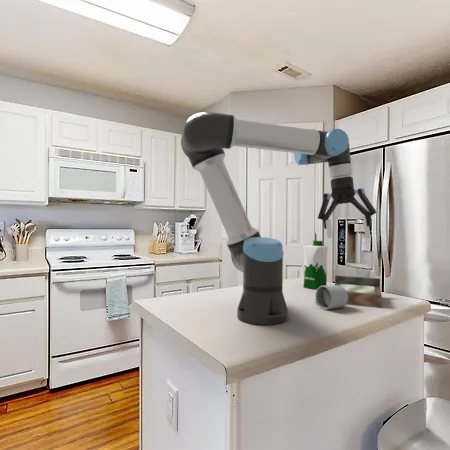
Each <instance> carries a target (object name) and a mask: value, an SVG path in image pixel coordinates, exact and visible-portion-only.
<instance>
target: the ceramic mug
mask: <svg viewBox="0 0 450 450" xmlns="http://www.w3.org/2000/svg"><path fill="white" fill-rule="evenodd" d="M315 291H316V292H315V298H314V300H315V304H317V305H318V307H319V308H320V309H322V310H325V311H326V310H327V311H328V310H333V309H334V310H335V309H340V308H343V307H345V306H346V305H348V304H347V302H348V293H347V291H346V290H345V289H344V288H343V287H341V286H334V285H326V286H320V287H319V288H318V289H317V290H315Z"/></svg>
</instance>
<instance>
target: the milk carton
mask: <svg viewBox="0 0 450 450" xmlns="http://www.w3.org/2000/svg"><path fill="white" fill-rule="evenodd" d="M328 248H329V246H328V245H324V242H323V240H312V244H307V245H303V246H302V250H303V254H304V257H303V258H304V262H303V263H304V267H303V268H304V269H303V271H304V272H303V274H304V275H303V288H306V289H309V290H310V289H311V290H315V291H317V289H318V288H319V287H320V286H327V279H328V278H327V274H328V273H327V267H328V266H327V264H328V263H327V262H328V261H327V259H328V257H327V256H328Z"/></svg>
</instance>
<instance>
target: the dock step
mask: <svg viewBox="0 0 450 450" xmlns="http://www.w3.org/2000/svg"><path fill="white" fill-rule="evenodd" d="M333 286H341V287H343V288H344V289H345V290H346V291H347V293H348V302H347V304H346V305H353V306H354V305H356V306H363V307H365V306H366V307H375V308H382V302H383V301H382V299H383V298H382V297H383V296H382V289H381V278H379V277H378V278H377V277H375V278H374V277H364V276H363V277H362V276H347V275H334V285H333Z"/></svg>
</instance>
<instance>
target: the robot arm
mask: <svg viewBox="0 0 450 450" xmlns="http://www.w3.org/2000/svg"><path fill="white" fill-rule="evenodd" d="M349 141H350V139H349V136H348V134H347V132H346V131H345V130H343V129H341V128H333V129H329V130H328V131H327V130H326V131H325V130H324V131H323V130H317V129H308V128H301V127H295V126H289V125H288V126H286V125H280V124H273V123H265V122H260V121H259V122H258V121H257V122H256V121H251V120H246V119H245V120H243V119H237V117H236V116H235V115H233V114H226V113H222V112H221V113H220V112H211V111H202V112H197V113H194V114H193V115H190V117H189V118H187V120H186V122H185V123H184V125H183V130H182V134H181V138H180V146H181V148H182V151H183V153H184V154H185V156H186V157H187V158H188V160H189V162H190V165H191V167H192V169H193V170H196V171H197V172H199V173H200V176H201V178H202V181H203V182H204V185H205V187H206V190H207V192H208V194H209V196H210V199H211V201H212V203H213V205H214V207H215V210H216V212H217V214H218V216H219V218H220V221H221V224H222V226H223V228H224V230H225V233H226V235H227V240H226V243H225V244H226V246H227V248H228V250H229V252H230V259H231V262H232V264H233V265H234V267H235V268H236V269H237V270H239V272H241V273H243V274H242V275H243V276H242V279H243V282H242V285H243V286H242V288H243V289H242V292H241V293H242V294H241V297H240V300H239V302H238V306H237V308H236V310H237V311H236V312H237V313H236V316H237V319H238V320H240V321H242V322H244V323H249V324H253V325H260V326H261V325H263V326H265V325H267V326H268V325H272V326H273V325H280V324H283V323H285V322H287V321H288V320H289V309H288V306H287V303H286V300H285V295H284V292H283V284H284V283H283V277H284V274H283V271H284V268H283V267H284V264H283V262H284V249H283V247H284V246H283V244H282V242H281V241H280V240H279V239H277V238H272V237H271V238H270V237H265V236H264V237H263V236H261V234H260V232H259V230H258V229H257V228H255V227H254V226H252V224H251V222H250V220H249V217H248V216H247V212H246V210H245V208H244V206H243V204H242V202H241V199H240V197H239V194H238V191H237V189H236V187H235V185H234V182H233V180H232V179H231V176H230V174H229V171H228V168H227V167H226V165H225V162H224V160H225V157H226V151H224V149H226V150H228V149H229V150H231V149H232V148H233V147H238V148H239V147H240V148H246V149H247V148H249V149H256V150H257V149H258V150H266V151H267V150H268V151H274V152H275V151H276V152H283V153H290V154H293V158H294V161H295V163H296V164H297V165H299V166H308V165H313V164H314V165H315V164H320V163H321V164H322V163H327V164H328V171H329V179H330V189H331V193H329V192H328V193H327V192H326V193H323V200H322V204H321V206H320V210H319V213H318V216H317V219H318V220H322V221H323V229H324V230H325V229H326V235H327V236H326V237H327V239H330V238H333V229H332V228H333V227H332V219H330V217H331V216H332V214H333V212H334V211H335V210H336V208H337V207H338V205H344V204H349V203H350V204H352V205H353V206H354V207H355V208H356V209H357V210H359V213H361V214H363V216H364V217H363V216H362V221H363V227H364V228H363V229H364V237H370V236H371V232H370V231H371V230H370V227H371V226H372V224H373V222H372V216H373V215H375V214H377V210H376V208H375V207H374V206H373V204H372V202H370V200H369V198H368V197H367V195H366V194H365V189H364V188H358V189H355V184H354V178H353V176H352V175H353V169H352V161H351V160H352V159H351V152H350V151H351V150H350V142H349ZM355 195H357V196H359V198H360V200H361V201H362V203H363V205H362V204H361V202H359V201H358V199H357V198H355ZM331 198H332V199H333V200H332V201H331V204H330V205H329V203H330V199H331ZM328 205H329V206H328Z"/></svg>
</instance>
